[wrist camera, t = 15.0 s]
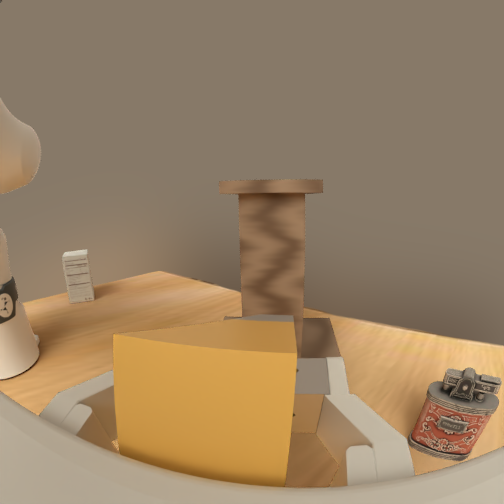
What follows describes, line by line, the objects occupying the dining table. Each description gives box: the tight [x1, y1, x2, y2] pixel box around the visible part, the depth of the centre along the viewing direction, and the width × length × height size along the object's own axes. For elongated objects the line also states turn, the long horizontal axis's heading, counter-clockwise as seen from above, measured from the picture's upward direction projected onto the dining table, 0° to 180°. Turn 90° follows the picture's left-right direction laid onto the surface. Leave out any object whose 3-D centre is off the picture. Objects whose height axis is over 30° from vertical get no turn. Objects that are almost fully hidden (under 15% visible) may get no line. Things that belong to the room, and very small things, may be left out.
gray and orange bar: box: [113, 314, 297, 487], centre depth 17 cm, size 3×26×3 cm, turn 172°
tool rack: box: [219, 179, 341, 358], centre depth 43 cm, size 20×17×26 cm
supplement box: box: [62, 250, 94, 304], centre depth 66 cm, size 7×7×13 cm
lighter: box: [408, 368, 502, 461], centre depth 18 cm, size 8×3×10 cm, turn 44°
